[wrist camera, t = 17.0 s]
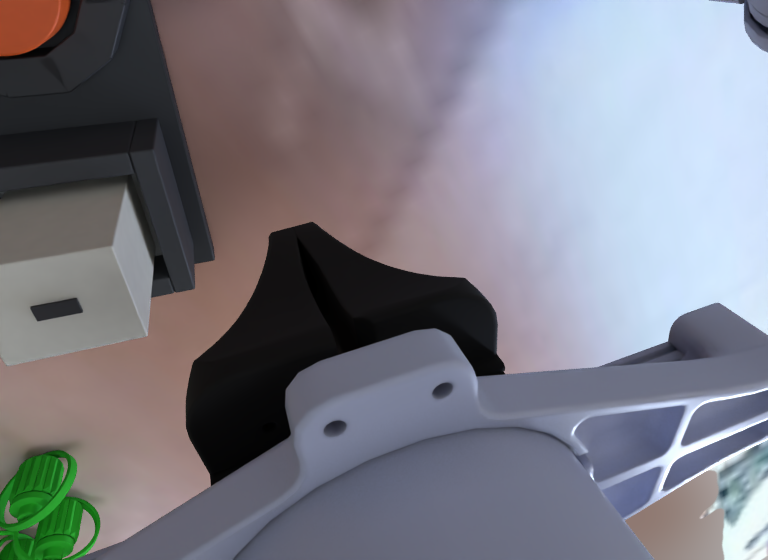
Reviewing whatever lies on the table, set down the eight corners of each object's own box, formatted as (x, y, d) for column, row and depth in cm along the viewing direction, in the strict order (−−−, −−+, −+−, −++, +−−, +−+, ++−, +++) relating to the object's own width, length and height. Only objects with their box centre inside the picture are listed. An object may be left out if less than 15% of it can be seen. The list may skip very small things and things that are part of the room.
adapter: (103, -184, 16) (89, -207, 13) (214, 248, 25) (217, 280, 22) (-214, -195, 13) (-297, -224, 11) (35, 280, 23) (18, 319, 20)
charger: (129, 169, 18) (112, 247, 14) (155, 246, 20) (148, 338, 16) (8, 185, 17) (-56, 276, 13) (48, 265, 19) (5, 369, 15)
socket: (159, 109, 20) (153, 149, 17) (193, 233, 24) (195, 289, 20) (-21, 129, 19) (-73, 177, 15) (44, 258, 22) (14, 325, 18)
